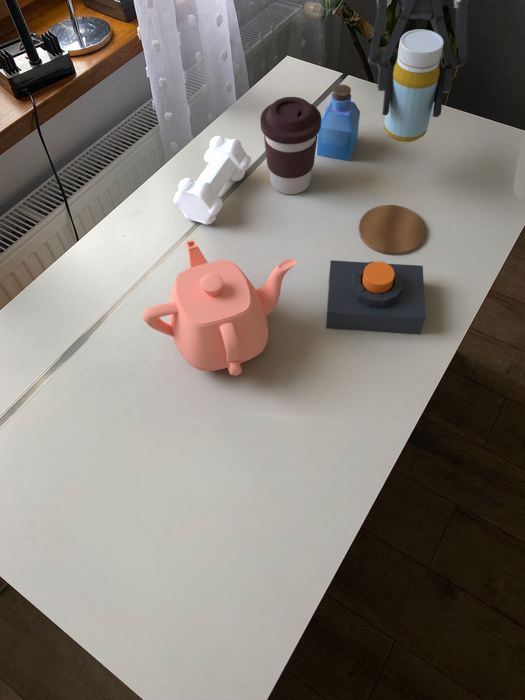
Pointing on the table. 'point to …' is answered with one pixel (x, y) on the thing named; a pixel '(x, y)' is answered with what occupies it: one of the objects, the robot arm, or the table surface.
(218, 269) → the teapot
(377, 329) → the push button box
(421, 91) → the bottle
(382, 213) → the coaster
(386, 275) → the orange push button
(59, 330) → the table surface
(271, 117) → the coffee cup
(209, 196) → the bone shaped toy
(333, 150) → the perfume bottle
